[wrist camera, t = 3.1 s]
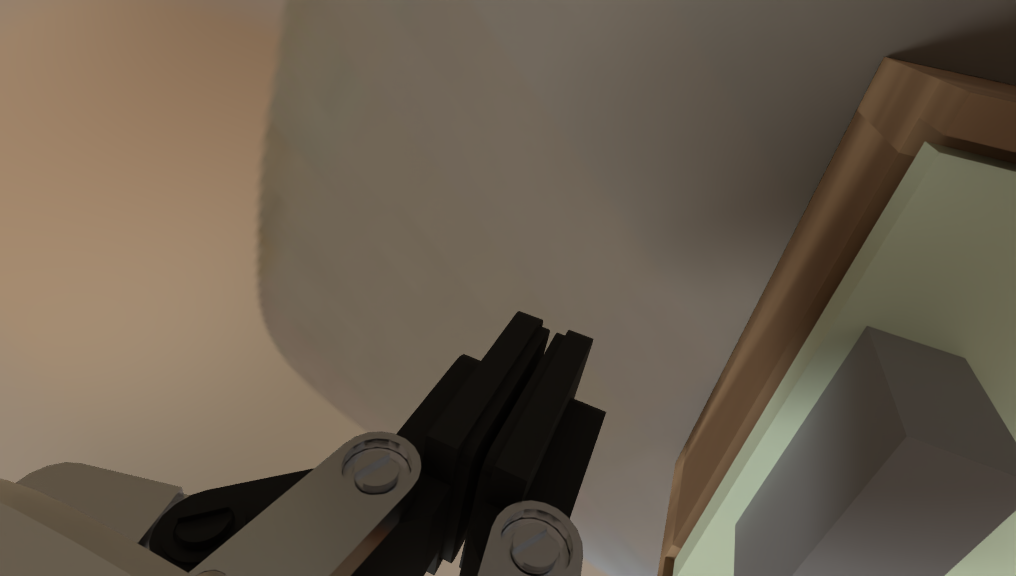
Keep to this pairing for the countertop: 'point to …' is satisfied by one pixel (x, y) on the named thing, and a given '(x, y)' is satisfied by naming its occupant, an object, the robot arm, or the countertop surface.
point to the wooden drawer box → (831, 255)
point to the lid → (891, 403)
